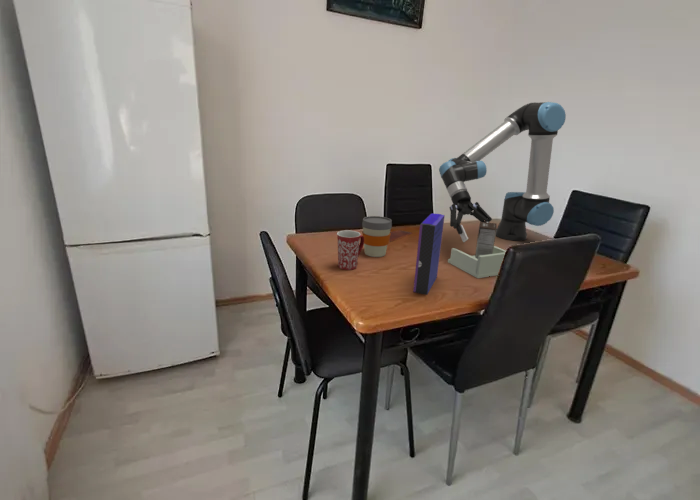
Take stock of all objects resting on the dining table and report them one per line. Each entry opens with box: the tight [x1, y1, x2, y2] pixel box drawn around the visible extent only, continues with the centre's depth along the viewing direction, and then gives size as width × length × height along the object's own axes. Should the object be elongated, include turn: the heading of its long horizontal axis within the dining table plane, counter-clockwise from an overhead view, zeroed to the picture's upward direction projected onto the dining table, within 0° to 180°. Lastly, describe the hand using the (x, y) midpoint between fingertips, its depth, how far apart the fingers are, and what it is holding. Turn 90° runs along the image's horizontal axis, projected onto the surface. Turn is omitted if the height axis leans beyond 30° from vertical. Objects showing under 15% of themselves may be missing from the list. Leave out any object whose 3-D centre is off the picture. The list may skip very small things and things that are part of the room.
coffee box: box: [474, 221, 498, 259], centre depth 157 cm, size 9×6×16 cm
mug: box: [336, 229, 364, 271], centre depth 154 cm, size 13×9×14 cm
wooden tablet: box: [389, 229, 413, 243], centre depth 196 cm, size 27×10×2 cm, turn 137°
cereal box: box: [412, 213, 445, 296], centre depth 138 cm, size 17×5×24 cm, turn 157°
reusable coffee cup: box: [361, 215, 393, 258], centre depth 168 cm, size 13×12×15 cm
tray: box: [447, 245, 507, 279], centre depth 159 cm, size 20×18×8 cm
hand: (479, 239), depth 160 cm, fingers open, 13 cm apart
